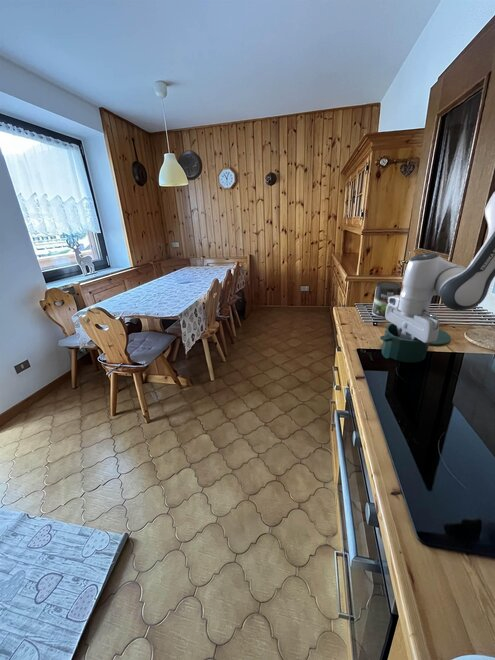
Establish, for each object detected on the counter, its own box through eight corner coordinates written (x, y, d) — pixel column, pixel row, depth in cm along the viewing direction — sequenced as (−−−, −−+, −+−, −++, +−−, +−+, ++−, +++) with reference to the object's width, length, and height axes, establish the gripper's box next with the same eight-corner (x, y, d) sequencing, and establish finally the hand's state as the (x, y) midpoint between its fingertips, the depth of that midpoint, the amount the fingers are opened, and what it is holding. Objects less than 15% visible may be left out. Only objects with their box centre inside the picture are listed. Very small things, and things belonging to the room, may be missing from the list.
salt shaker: (408, 349, 102) (415, 317, 96) (415, 358, 97) (423, 324, 91) (391, 349, 103) (397, 317, 97) (397, 358, 98) (404, 324, 92)
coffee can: (398, 319, 125) (404, 288, 119) (373, 318, 128) (378, 288, 121) (393, 309, 134) (399, 281, 128) (370, 309, 136) (374, 280, 130)
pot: (441, 360, 96) (448, 335, 92) (391, 370, 93) (397, 345, 88) (411, 341, 108) (416, 319, 103) (367, 350, 104) (370, 327, 100)
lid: (460, 342, 105) (463, 332, 103) (426, 349, 103) (429, 339, 101) (429, 325, 118) (431, 316, 116) (398, 331, 115) (400, 322, 113)
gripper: (449, 315, 83) (437, 355, 89) (400, 293, 101) (393, 327, 107) (431, 319, 82) (420, 359, 88) (384, 295, 99) (378, 330, 106)
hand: (405, 341), depth 98 cm, fingers closed on salt shaker, 3 cm apart
